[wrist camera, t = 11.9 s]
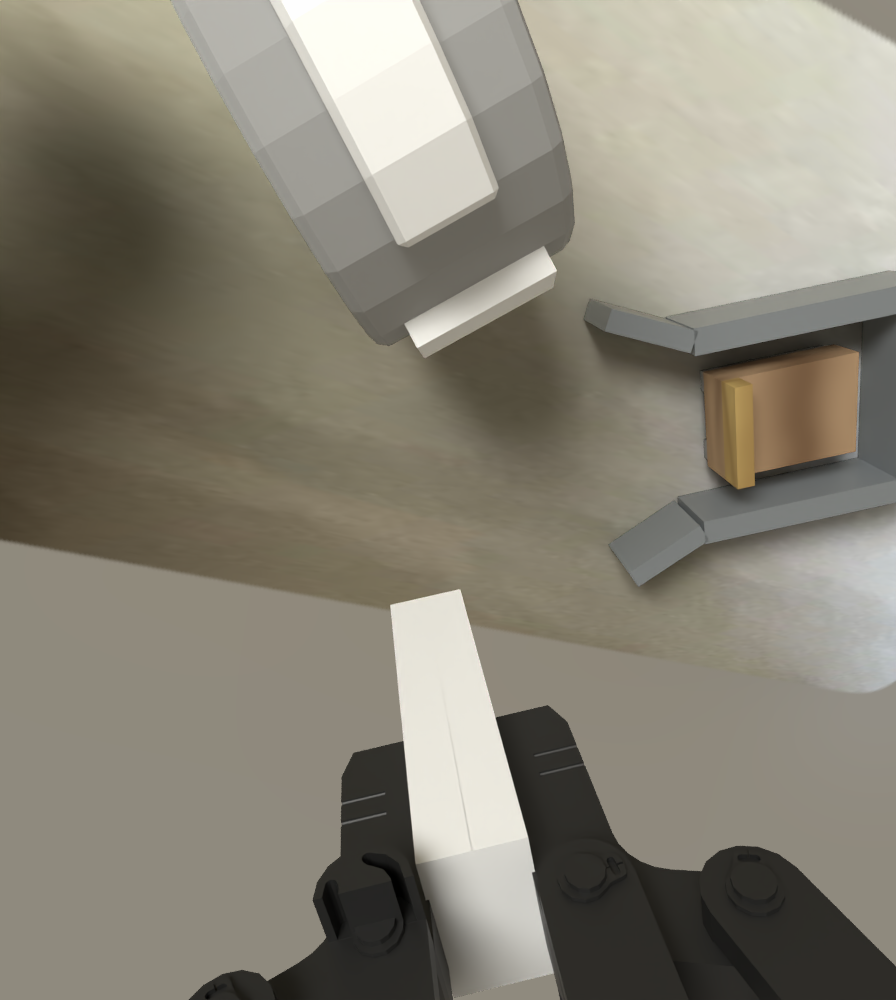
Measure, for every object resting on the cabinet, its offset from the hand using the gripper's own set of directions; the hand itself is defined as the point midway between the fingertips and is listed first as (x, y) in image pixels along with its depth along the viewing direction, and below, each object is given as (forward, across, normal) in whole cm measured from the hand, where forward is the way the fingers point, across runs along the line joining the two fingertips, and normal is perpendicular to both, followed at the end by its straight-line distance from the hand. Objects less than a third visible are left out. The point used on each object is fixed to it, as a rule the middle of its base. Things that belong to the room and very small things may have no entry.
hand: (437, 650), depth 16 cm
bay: (+29, +21, -7) cm, 36 cm away
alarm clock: (+29, +2, +12) cm, 32 cm away
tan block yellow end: (+29, +22, -7) cm, 37 cm away
